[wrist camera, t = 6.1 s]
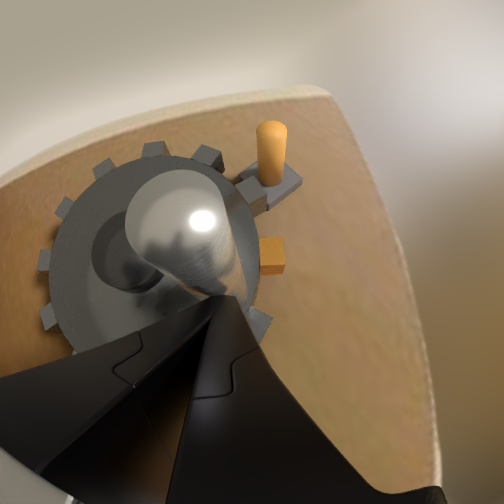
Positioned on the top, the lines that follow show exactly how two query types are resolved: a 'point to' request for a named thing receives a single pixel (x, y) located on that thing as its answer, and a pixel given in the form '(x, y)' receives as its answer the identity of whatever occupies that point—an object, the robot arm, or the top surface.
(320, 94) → the top surface
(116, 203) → the sprocket
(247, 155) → the top surface
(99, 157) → the top surface
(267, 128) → the rounded peg on base
